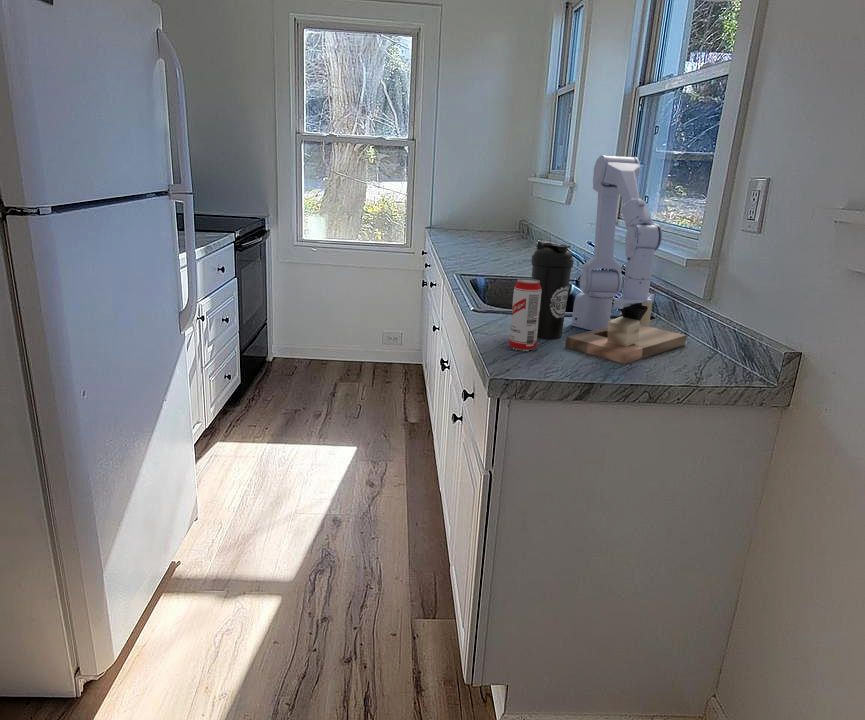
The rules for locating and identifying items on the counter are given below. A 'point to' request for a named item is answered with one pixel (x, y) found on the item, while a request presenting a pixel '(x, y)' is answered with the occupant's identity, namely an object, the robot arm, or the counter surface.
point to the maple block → (623, 331)
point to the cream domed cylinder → (646, 315)
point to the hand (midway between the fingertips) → (629, 335)
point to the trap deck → (647, 345)
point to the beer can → (525, 314)
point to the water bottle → (552, 286)
